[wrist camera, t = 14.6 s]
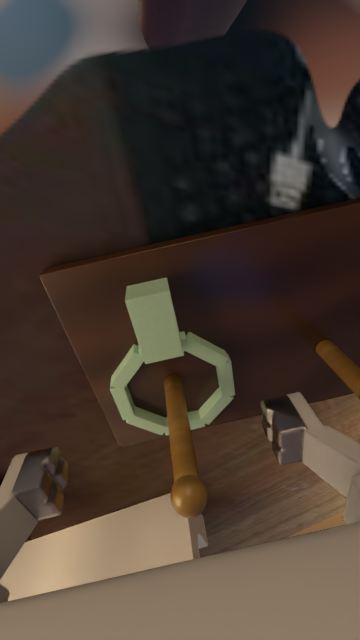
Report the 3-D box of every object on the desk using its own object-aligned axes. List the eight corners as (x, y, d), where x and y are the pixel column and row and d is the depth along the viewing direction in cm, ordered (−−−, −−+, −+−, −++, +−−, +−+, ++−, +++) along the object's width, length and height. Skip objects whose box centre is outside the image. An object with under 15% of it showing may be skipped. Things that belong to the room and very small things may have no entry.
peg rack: (44, 268, 21) (-66, 385, 10) (414, 185, 21) (715, 208, 10) (120, 435, 30) (108, 591, 19) (374, 376, 30) (506, 497, 19)
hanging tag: (76, 297, 20) (68, 313, 18) (216, 266, 20) (225, 278, 18) (132, 433, 28) (132, 456, 26) (234, 410, 28) (242, 430, 26)
